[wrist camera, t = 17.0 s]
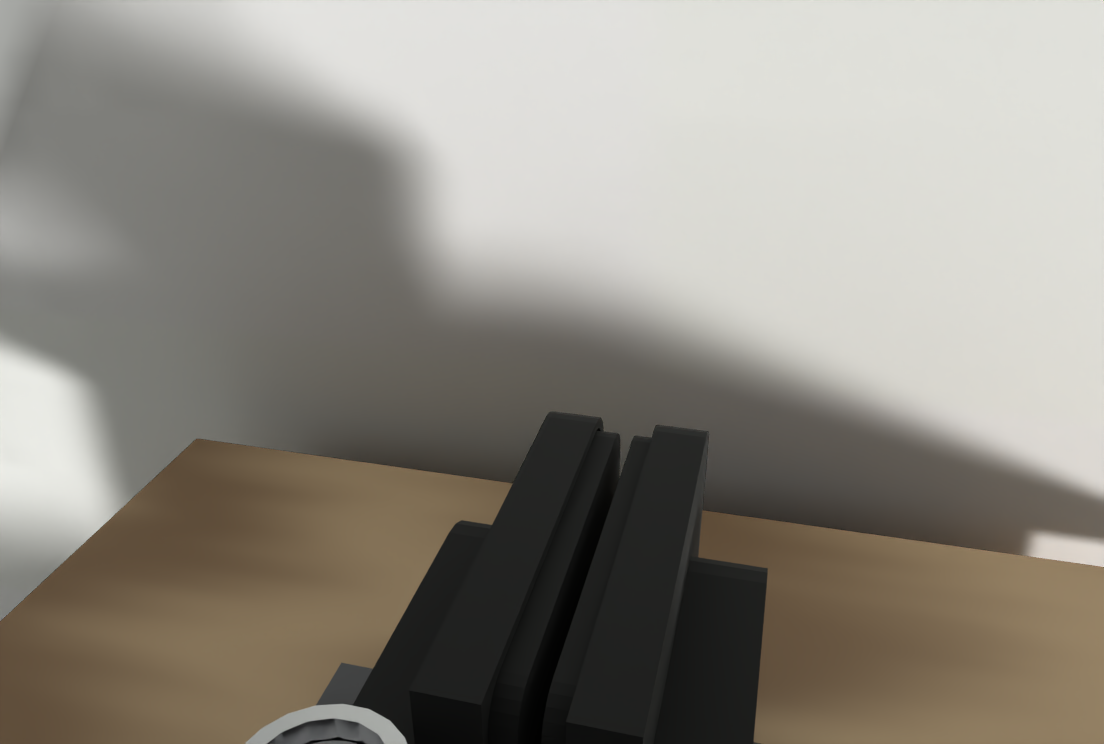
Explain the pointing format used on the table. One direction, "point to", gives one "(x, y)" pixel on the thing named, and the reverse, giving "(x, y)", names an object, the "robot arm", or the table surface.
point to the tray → (443, 500)
